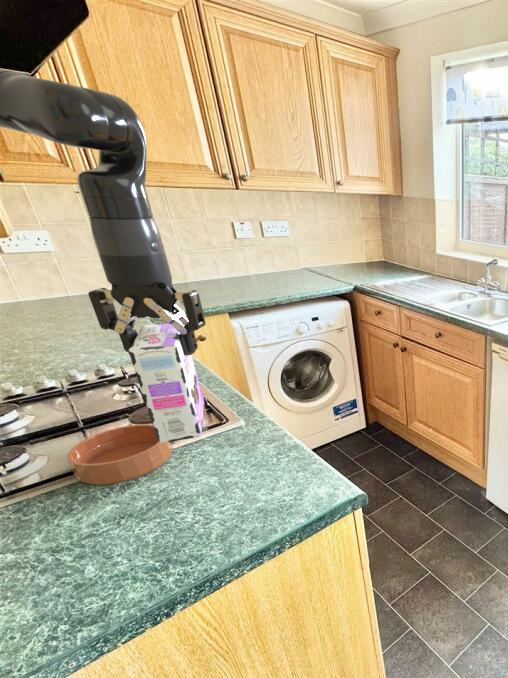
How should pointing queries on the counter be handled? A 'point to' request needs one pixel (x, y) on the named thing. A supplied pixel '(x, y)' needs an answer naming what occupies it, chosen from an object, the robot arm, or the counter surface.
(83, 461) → the pan
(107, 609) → the counter surface
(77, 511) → the counter surface
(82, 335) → the counter surface
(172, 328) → the candy box
